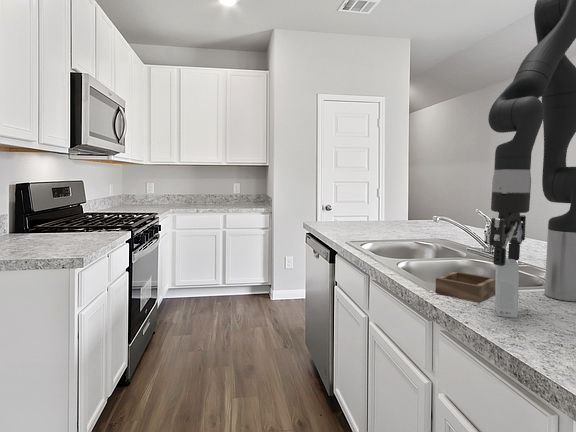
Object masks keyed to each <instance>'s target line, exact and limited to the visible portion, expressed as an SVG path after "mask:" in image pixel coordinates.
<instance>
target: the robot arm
mask: <svg viewBox="0 0 576 432" xmlns="http://www.w3.org/2000/svg"><path fill="white" fill-rule="evenodd" d="M533 15H534V17H533V20H534V21H533V22H534V28H535V34H536V42H537V44H536V45H535V46H534V47H533V48H532V49H531V50H530V51H529V52H528V54H527V55H526V56H524V57H525V58H524V59H523V60H522V62H521V63H520V65H519V68H518V69H517V72H516V73H515V75H514V77H513V80H512V82H511V83H510V84H509V85H508V86H507V87H506V88H505V89H504V90H503V92H501V93H500V95H499V96H498V97H497V98H496V100H495V101H494V102H493V104H492V105H491V107H490V109H489V112H488V120H487V121H488V125H489V127H490V129H492V131H494V132H496V133H498V134H499V133H502V134H504V133H514V132H515V133H514V136H513V137H512V138H511V140H509V141H506V142H503V143H501V144H498V145H497V146H496V148H495V151H494V152H495V153H494V167H493V168H494V169H493V176H492V182H491V184H492V185H491V199H490V200H491V201H490V210H491V211H492V212H493V213H494V212H496V213H498V215H497V217H492V218H491V220H490V231H489V232H490V233H489V242H488V243H489V246H492V248H493V265H495V266H496V265H499V266H503V265H505V261H506V259H514V260H516V262H518V261H519V260H520V255H521V254H520V253H521V245H522V243H523V242H524V241H525V240H526V222H527V221H526V213H529V211H530V205H531V204H530V202H531V186H532V177H531V175H532V174H531V167H532V152H533V148H534V145H535V143H536V139H537V136H538V135H539V134H538V133H539V131H540V129H541V126H542V125H543V157H542V158H543V161H542V174H541V175H542V177H541V179H542V180H541V181H542V184H541V185H542V193H543V195H544V197H545V199H546V200H547V201H548V202H550V203H554V204H555V203H556V204H557V203H558V204H569V205H570V206H569V209H568V211H567V212H565V213H564V214H562V215H561V214H560V215H557V216H553V217H551V218H550V219H549V220H548V224H547V236H546V237H547V242H546V259H545V260H546V261H545V276H544V277H545V278H544V292H543V294H544V295H545V296H546V297H549V298H553V299H555V300H559V301H567V302H576V166H567V155H568V148H569V145H570V143H571V142H572V139H573V137H574V136H575V134H576V66H575V64H574V63H573V62H572V61H571V60H570V58H568V56H567V55H566V53H567V51H568V50H569V48H570V47H571V46H572V44H574V41H576V0H536V2H535V5H534V13H533ZM540 98H541V100H540ZM521 214H522V215H521ZM523 214H525V215H523ZM507 247H508V252H507ZM507 254H508V255H507ZM506 256H507V257H506Z"/></svg>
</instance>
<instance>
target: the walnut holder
mask: <svg viewBox="0 0 576 432" xmlns="http://www.w3.org/2000/svg"><path fill="white" fill-rule="evenodd" d="M434 292H435V294H439V295H444V296H448V297H453V298H458V299H462V300H466V301H470V302H474V303H480V302H482V301H485V300H486V299H488V298H490V297H493V296H495V277H491V276H485V275H479V274H472V273H470V272H469V273H468V272H461V271H457V270H455V271H453V272H449V273H447V274H444V275H441V276H438V277H436V278H435V291H434Z"/></svg>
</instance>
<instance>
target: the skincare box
mask: <svg viewBox="0 0 576 432" xmlns="http://www.w3.org/2000/svg"><path fill="white" fill-rule="evenodd" d="M519 268H520V264H519V263H518V261H516V260H514V259H508V258H506V261H505V265H503V266H499V265H495V277H494V278H495V294H494V296H495V297H494V308H495V311H496V315H497V316H498V317H503V318H512V319H517V318H518V317H519V287H520V286H519V281H520V279H519V275H520V269H519Z"/></svg>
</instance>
